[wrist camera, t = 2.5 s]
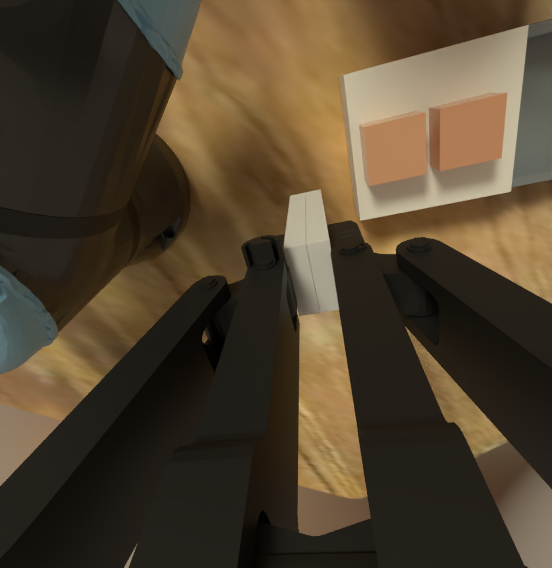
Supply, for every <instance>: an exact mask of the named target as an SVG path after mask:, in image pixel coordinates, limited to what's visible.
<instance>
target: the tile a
mask: <svg viewBox="0 0 552 568" xmlns="http://www.w3.org/2000/svg"><path fill="white" fill-rule="evenodd" d="M359 132H360V142H361V151H362V161H363V171H364V180H365V181H366V182H367V184H368V185H369V186H372V185H377V184H382V183H387V182H391V181H396V180H401V179H406V178H410V177H415V176H420V175H425V174H427V164H426V112H420V111H413V112H409V113H405V114H401V115H396V116H392V117H388V118H384V119H380V120H376V121H372V122H368V123H363V124H359Z"/></svg>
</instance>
